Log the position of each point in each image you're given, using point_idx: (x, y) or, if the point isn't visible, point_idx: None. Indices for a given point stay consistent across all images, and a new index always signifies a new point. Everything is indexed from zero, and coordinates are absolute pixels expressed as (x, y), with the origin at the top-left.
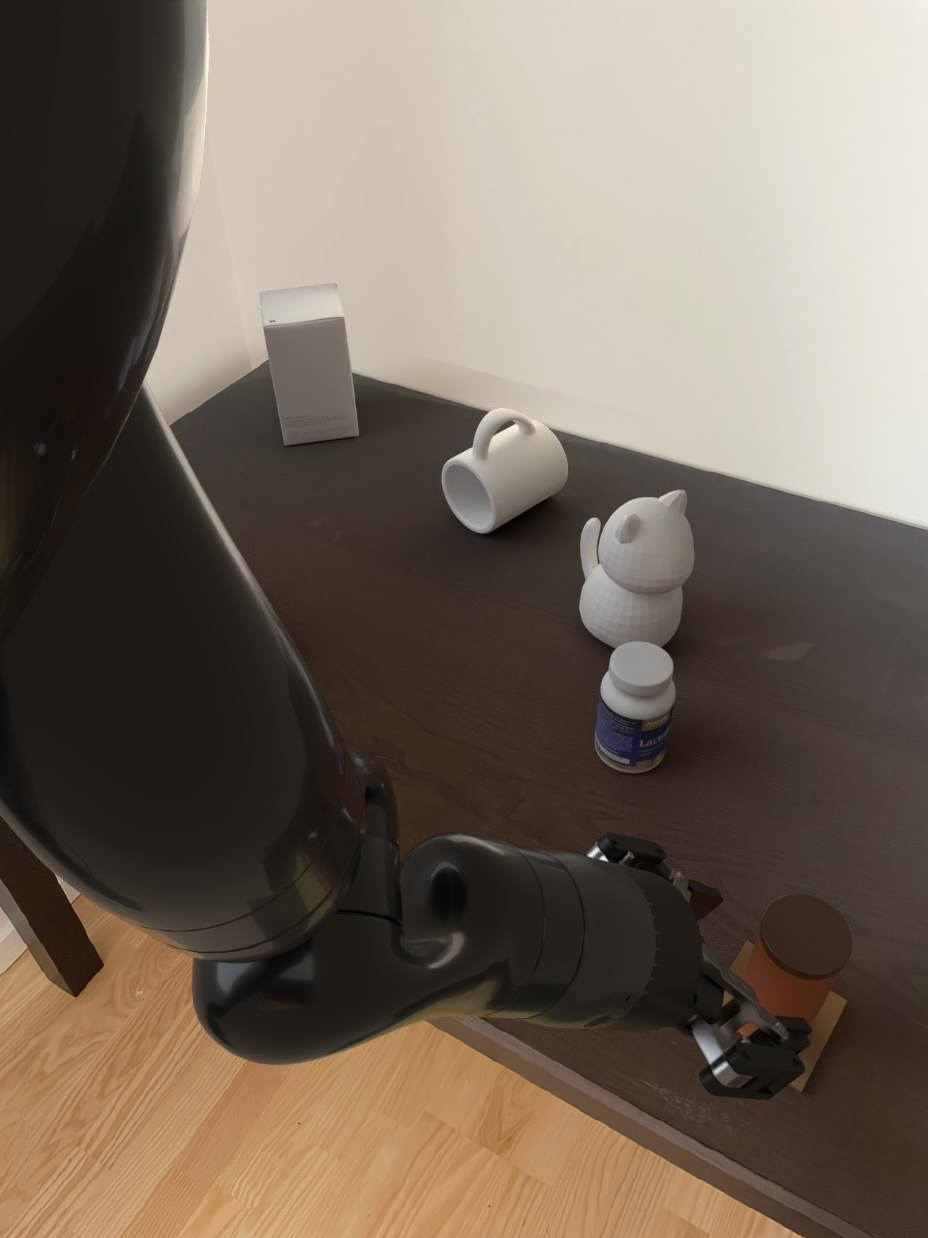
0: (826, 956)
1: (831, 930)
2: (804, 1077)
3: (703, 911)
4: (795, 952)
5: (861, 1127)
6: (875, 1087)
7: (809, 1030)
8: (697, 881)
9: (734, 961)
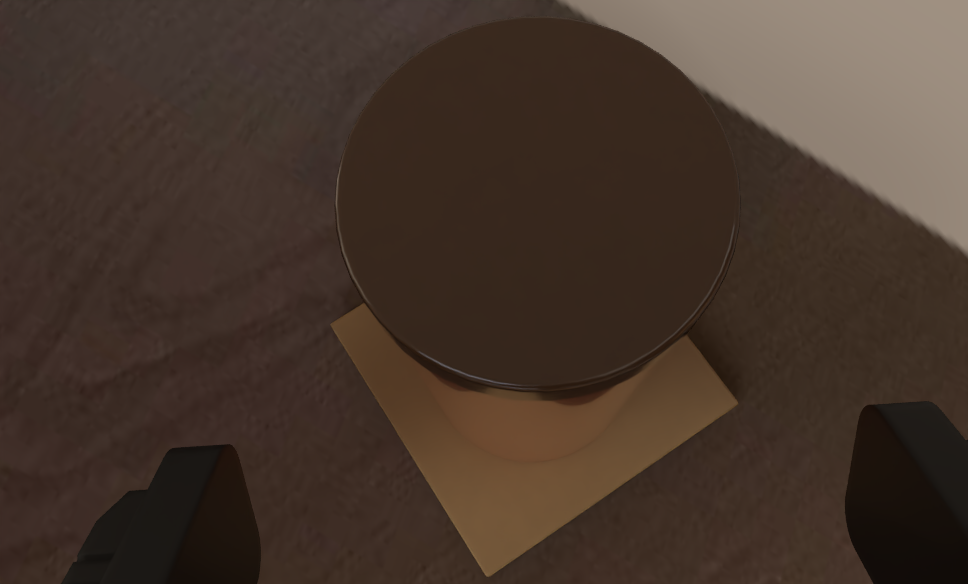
0: (668, 170)
1: (564, 88)
2: (709, 378)
3: (238, 553)
4: (606, 285)
5: (841, 310)
6: (764, 229)
7: (944, 419)
8: (89, 534)
9: (369, 387)
